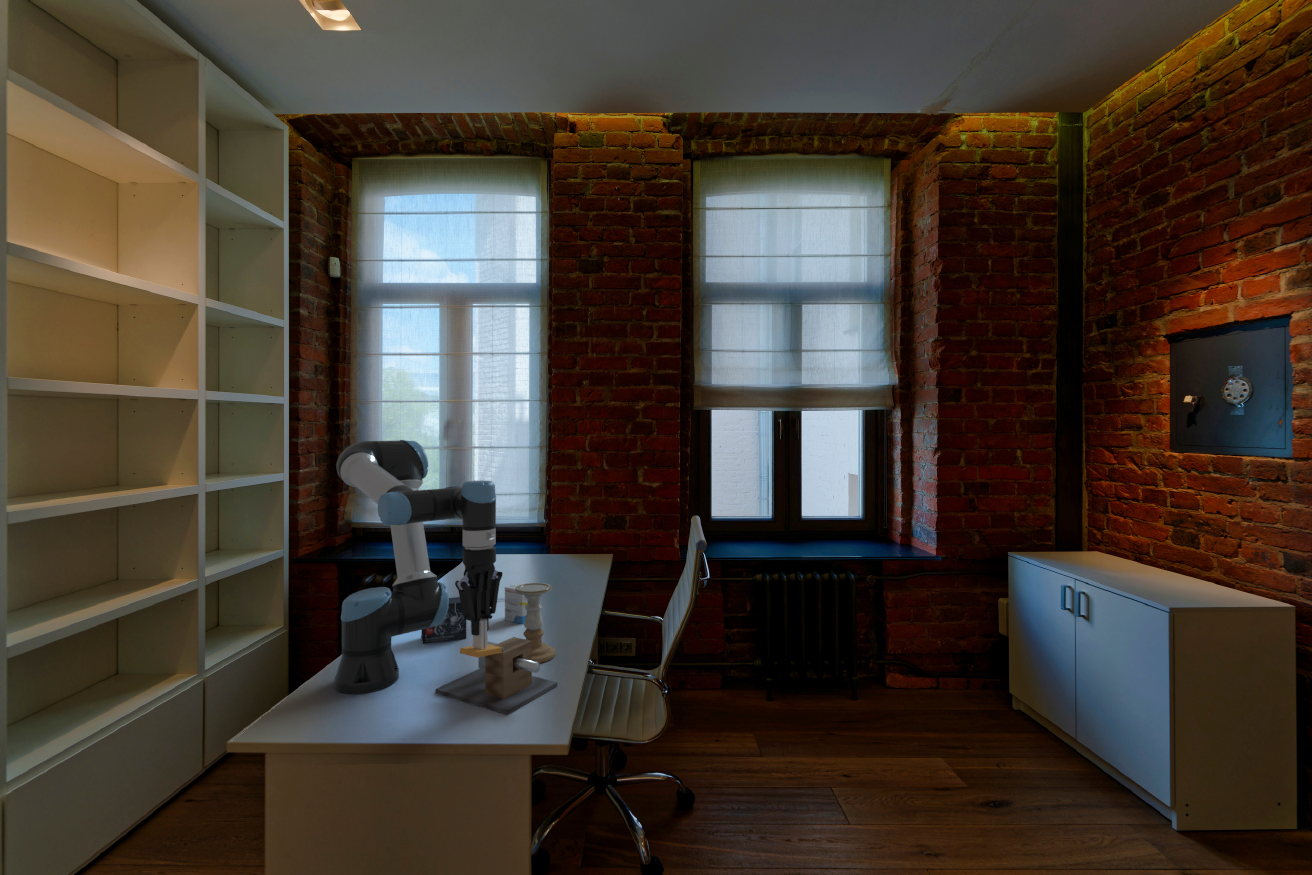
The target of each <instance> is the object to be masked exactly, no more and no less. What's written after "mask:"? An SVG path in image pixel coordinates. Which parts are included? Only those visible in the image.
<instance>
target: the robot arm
mask: <svg viewBox="0 0 1312 875" xmlns="http://www.w3.org/2000/svg"><path fill="white" fill-rule="evenodd" d="M335 465H336V471H337V475H338V477H339V478H340V479H341V480H342V481H343V482H344V483H345V484H346V485H348V486H350V487H353V488H357V489H358V490H360V491H361V492H362V493H363V494H364V495H366V496H367V497H368V498H369V499H371V501H373V502H374V503H375V504H377V516H378V517H379V520H380V522H381V523H382V524H383V525H385V526H390V531H391V532H390V533H391V538H392V539H391V540H392V545H393V546H392V547H393V556H394V561H395V569H396V580H395V581H394V582H393V584H392V590H393V591H391V589H390V588H389V587H385V586H377V587H369V588H365V589H362V590H358V591H356V592H354V593H351V594H349V595H348V596H347V597H346V598H345V599H344V600H343V601H342V605H341V615H340V620H341V658H340V661H339V665H338V668H337V671H336V675H334V676H335V677H334V689H335V690H336V691H337V692H340V693H342V694H343V693H344V694H352V695H353V694H354V695H355V694H364V693H371V692H375V691H380V690H382V689H385V688H387V687H390V686H392V685H393V684H395V683H396V682H397V681H398V680H399V677H400V671H399V666H398V664H397V660H396V657H395V654H394V653H393V650H392V637H396V636H400V635H404V634H405V635H406V634H410V633H413V632H417V631H422V629H428V628H430V627H433V626H437V625H439V624H441V623H442V622H443V620H444V619H445V617H446V614H447V611H448V606H449V598H450V597H449V592H448V589H447V586H446V584H445V583H443V582H439V581H438V577H437V575H436V574H434V573H433V572H432V571H431V567H430V559H429V554H428V547H427V540H426V534H425V532H426V531H425V528H424V527H425V526H424V523H425V522H434V521H444V520H453V519H454V520H455V519H460V520H462V546H463V547H464V548H463V549H462V564H463V566H464V571H463V577H461V579H460V580H456V581H455V582H454V585H455V587H456V589H457V590H458V595H459V596H458V597H460V601H461V607H462V612H463V617H464V619H465V620H466V621H469V622H470V626H471V627H470V631H471V632H470V633H471V636H472V646H473V648H477V649H481V650H482V649H484V648H486V647H487V641H488V632H489V628H490V626H489V623H490V622H489V620H492V618H493V614H496V611H497V605H498V604H497V603H498V597H499V591H500V584H501V580H502V578H503V574H504V573H503V571H498V570H497V569H496V567H495V563H496V562H497V548H496V547H495V545H496V542H497V541H496V539H497V538H496V537H497V534H496V532H497V531H496V530H497V529H496V527H497V526H496V525H497V521H496V520H497V519H496V518H497V512H496V511H497V510H496V509H497V508H496V507H497V495H496V485H495V483H494V482H493V481H492V480H470V481H469V480H468V481H465V482H463V483H462V485H461V486H462V487H461V486H457V485H456V486H447V487H442V488H434V489H433V488H432V489H431V488H429V489H420V487H421V486H422V485H423V479H425V478H426V477H427V475H428V473H429V469H428V468H429V460H428V455H427V453H426V451H425V449H424V447H423V446H422V445H421V444H420V443H419V442H418V441H416V440H415V441H414V440H405V439H400V440H363V441H359V442H355V443H353V444H351V445H349V446H347V447H346V448H345V449H344V450H343V451H342V452H341V453H340V454H339V456H338V458H337V461H336V464H335Z"/></svg>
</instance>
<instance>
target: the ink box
mask: <svg viewBox="0 0 1312 875" xmlns="http://www.w3.org/2000/svg"><path fill="white" fill-rule="evenodd" d="M527 583H528V582H522V581H521V582H516V583H514V584H510V585H508V586H505V587H504V621H506V622H511V623H515V624H521V625H524V622H525V619H526V614H527V610H526V609H525V606H526V605H527V603H528V601H527V598H526V597H525V596H524V595H521V594H518V593H516V592H515V588H516V587H517V586H519V585H522V584H527Z"/></svg>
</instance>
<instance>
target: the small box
mask: <svg viewBox="0 0 1312 875" xmlns="http://www.w3.org/2000/svg"><path fill="white" fill-rule="evenodd" d="M420 631H421V636H420V638H421V643H422V645H428V644H429V645H430V644H435V643H436V644H437V643H445V642H451V641H458V640H460V641H461V640H465V639H467V620H465V619H464V617H463V612H462V607H461V601H460V596H457V597H456V596H455V597H454V596H453V597H449V606H448V611H447V614H446V617H445V619H444V620H443V622H442V623H441V624H439V625H437V626H433V627H430V628H428V629H422V630H420Z"/></svg>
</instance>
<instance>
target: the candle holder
mask: <svg viewBox="0 0 1312 875" xmlns="http://www.w3.org/2000/svg"><path fill="white" fill-rule="evenodd" d="M526 583H527V584H522V585H519V586H517V587H516V588H515V592H516V593H518V594H521V595H524V596H525V597H526V598H527V601H528V603H527V605H526V606H525V609H526V610H527V614H526V619H525V622H524V624H523V627H524V628H525V630H524V632H523V636H524V637H525V640H530V641H532V661H534V662H538V663H539V664H542V663H546V662H548V661H551V660H552V659H553V658H554V657H555V656H556V650H555V648H554V647H553V646H551V645H549V644H547V643H545V642H543V639H542V637H543V635H544V634H545V630H543V629H542V628H543V626H544V620H543V617H542V614H541V613H542V612H541V609H543V605H542V603H541V601H540V600H541V597H543V595H546V594H547V593H550V592H551V591H552V585H551V584H550V583H545V582H544V583H543V582H526Z"/></svg>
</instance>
